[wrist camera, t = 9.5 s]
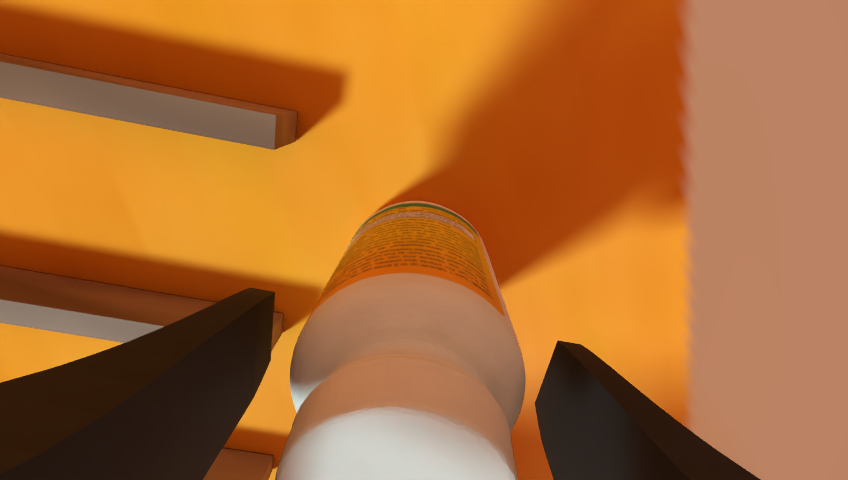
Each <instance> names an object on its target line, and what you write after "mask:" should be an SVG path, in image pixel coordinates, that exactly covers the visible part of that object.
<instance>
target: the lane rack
mask: <svg viewBox="0 0 848 480" xmlns="http://www.w3.org/2000/svg"><path fill="white" fill-rule="evenodd" d="M0 98H5V99H11V100H16V101H21V102H26V103H32V104H37V105H42V106H47V107H53V108H58V109H63V110H68V111H74V112H79V113H84V114H90V115H95V116H100V117H105V118H111V119H116V120H121V121H126V122H132V123H137V124H142V125H147V126H153V127H158V128H163V129H168V130H174V131H179V132H184V133H189V134H195V135H200V136H205V137H210V138H216V139H221V140H226V141H231V142H237V143H242V144H247V145H252V146H258V147H263V148H268V149H273V150H275V149H277V148H280V147H282V146H285V145H288V144H290V143H293V142H295V141H296V127H297V113H298V112H296V111H291V110H286V109H281V108H276V107H271V106H266V105H261V104H256V103H251V102H245V101H240V100H235V99H230V98H225V97H220V96H215V95H210V94H205V93H200V92H194V91H189V90H184V89H179V88H174V87H169V86H164V85H159V84H154V83H148V82H143V81H138V80H133V79H128V78H123V77H118V76H113V75H108V74H103V73H97V72H92V71H87V70H82V69H77V68H72V67H67V66H62V65H57V64H52V63H46V62H41V61H36V60H31V59H26V58H21V57H16V56H11V55H6V54H1V53H0ZM215 303H217V302H212V301H206V300H200V299H194V298H188V297H182V296H176V295H170V294H164V293H158V292H152V291H146V290H141V289H135V288H129V287H123V286H117V285H111V284H105V283H99V282H93V281H87V280H81V279H75V278H69V277H64V276H58V275H52V274H46V273H40V272H34V271H28V270H22V269H16V268H10V267H4V266H0V323H5V324H11V325H17V326H24V327H30V328H36V329H42V330H48V331H55V332H61V333H67V334H73V335H79V336H86V337H92V338H98V339H104V340H110V341H116V342H123V343H126V342H129V341H131V340H133V339H136V338H138V337H141V336H143V335H145V334H148V333H150V332H153V331H155V330H157V329H160V328H162V327H165V326H167V325H169V324H172V323H174V322H176V321H179V320H181V319H183V318H185V317H187V316H189V315H192V314H194V313H196V312H198V311H200V310H202V309H204V308H207V307H209V306H211V305H213V304H215ZM282 324H283V313H277V312H274V314H273V330H272V345H271V351H272V349H273V348H274V346H275V344H276V343H277V341H278V339H279V338H280V336H281V334H282ZM272 464H273V456H272V455H265V454H259V453H252V452H245V451H239V450H232V449H225V448H222V450H221V451H220V453H219V454H218V456H217V458H216V459H215V461H214V462H213V464H212V466H211V467H210V469H209V471H208V472H207V474H206V475H205V477H204V479H203V480H268V479H269V477H270V474H271V472H272Z"/></svg>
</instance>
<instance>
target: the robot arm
mask: <svg viewBox="0 0 848 480" xmlns="http://www.w3.org/2000/svg"><path fill="white" fill-rule="evenodd" d="M274 299H275V292H271V291H265V290H259V289H253V288H249V289H246V290H243V291H241V292H239V293H237V294H234V295H232V296H230V297H228V298H226V299H224V300H221V301H219V302H217V303H215V304H213V305H211V306H209V307H207V308H204V309H202V310H200V311H198V312H196V313H194V314H192V315H189V316H187V317H185V318H183V319H181V320H179V321H176V322H174V323H172V324H169V325H167V326H165V327H162V328H160V329H157V330H155V331H153V332H150V333H148V334H145V335H143V336H141V337H138V338H136V339H133V340H131V341H129V342H126V343H123V344H121V345H118V346H116V347H113V348H110V349H107V350H105V351H102V352H99V353H96V354H93V355H90V356H87V357H85V358H82V359H79V360H76V361H73V362H70V363H67V364H64V365H61V366H57V367H54V368H51V369H48V370H44V371H41V372H37V373H33V374H30V375H26V376H23V377H19V378H16V379H12V380H9V381H5V382H1V383H0V480H203V479H204V477H205V475H206V474H207V472H208V471H209V469H210V467H211V466H212V464H213V462H214V461H215V459H216V458H217V456H218V454H219V453H220V451H221V450H222V448H223V446H224V445H225V443H226V442H227V440H228V438H229V437H230V435H231V434H232V432H233V430H234V429H235V427H236V426H237V424H238V422H239V421H240V419H241V417H242V416H243V414H244V413H245V411H246V409H247V408H248V406H249V404H250V403H251V401H252V399H253V398H254V396H255V394H256V391H257V389H258V387H259V385H260V383H261V381H262V379H263V376H264V374H265V372H266V370H267V367H268V365H269V363H270V361H271V345H272V330H273V314H274ZM535 407H536V412H537V418H538V424H539V429H540V434H541V439H542V443H543V447H544V450H545V453H546V456H547V460H548V463H549V466H550V469H551V472H552V475H553V478H554V480H760V479H759V478H757V477H756V476H754V475H753V474H751V473H750V472H748V471H747V470H745V469H744V468H742V467H741V466H739V465H738V464H736V463H735V462H733V461H732V460H730V459H729V458H728V457H726V456H725V455H723V454H722V453H720V452H719V451H717V450H716V449H714V448H713V447H712V446H710V445H709V444H707V443H706V442H705V441H703V440H702V439H700V438H699V437H698V436H696V435H695V434H694V433H693V432H691V431H690V430H689V429H687V428H686V427H685V426H683V425H682V424H681V423H679V422H678V421H677V420H675V419H674V418H673V417H671V416H670V415H669V414H668V413H666V412H665V411H664V410H663V409H661V408H660V407H659V406H657V405H656V404H655V403H654V402H652V401H651V400H650V399H649V398H648V397H646V396H645V395H644V394H643V393H641V392H640V391H639V390H638V389H637V388H635V387H634V386H633V385H632V384H630V383H629V382H628V381H627V380H626V379H624V378H623V377H622V376H621V375H620V374H618V373H617V372H616V371H615V370H614V369H612V368H611V367H610V366H609V365H607V364H606V363H605V362H604V361H602V360H601V359H600V358H599V357H597V356H596V355H595V354H594V353H592V352H591V351H590V350H588V349H587V348H585V347H584V346H582V345H581V344H575V343H569V342H563V341H557V344H556V347H555V349H554V352H553V355H552V358H551V360H550V363H549V366H548V369H547V371H546V374H545V377H544V380H543V383H542V385H541V388H540V391H539V394H538V396H537V399H536V402H535Z"/></svg>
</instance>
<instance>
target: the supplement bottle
mask: <svg viewBox="0 0 848 480" xmlns="http://www.w3.org/2000/svg"><path fill="white" fill-rule="evenodd" d="M290 386H291V394H292V399H293V403H294V406H295V409H296V412H297V414H296V417H295V419H294V422H293V425H292V429H291V432H290V434H289V437H288V440H287V442H286V445H285V448H284V451H283V453H282V456H281V459H280V462H279V465H278V469H277V473H276V478H275V480H518V474H517V469H516V465H515V460H514V455H513V450H512V441H511V433H510V431H511V430H512V428H513V426H514V424H515V422H516V420H517V418H518V415H519V413H520V410H521V407H522V403H523V398H524V392H525V369H524V363H523V358H522V353H521V350H520V347H519V343H518V340H517V337H516V334H515V332H514V329H513V326H512V323H511V320H510V318H509V315H508V312H507V309H506V305H505V303H504V300H503V298H502V295H501V292H500V289H499V285H498V282H497V279H496V276H495V273H494V270H493V268H492V265H491V261H490V258H489V256H488V253H487V250H486V248H485V245H484V243H483V241H482V239H481V237H480V235H479V234H478V232H477V231H476V230H475V228H474V227H473V226H472V225H471V224H470V222H468V221H467V220H466V219H465V218H464V217H463V216H461V215H460V214H458V213H456V212H454V211H453V210H451V209H448V208H446V207H444V206H442V205H438V204H435V203H431V202H425V201H406V202H400V203H396V204H392V205H390V206H387V207H385V208H383V209H381V210H379V211H377V212H376V213H374V214H373V215H371V216H370V217H369V218H368V219H367V220H366V221H365V222H364V223H363V224H362V225H361V227H360V228H359V229H358V231H357V232H356V234H355V235H354V237H353V238H352V240H351V242H350V244H349V246H348V247H347V249H346V251H345V253H344V254H343V256H342V258H341V260H340V262H339V264H338V265H337V267H336V269H335V271H334V273H333V275H332V276H331V278H330V280H329V282H328V283H327V285H326V287H325V288H324V290H323V292H322V294H321V296H320V298H319V300H318V301H317V303H316V305H315V307H314V309H313V311H312V313H311V315H310V316H309V318H308V320H307V322H306V324H305V325H304V327H303V329H302V331H301V333H300V335H299V337H298V340H297V343H296V345H295V348H294V352H293V356H292V361H291V368H290Z"/></svg>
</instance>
